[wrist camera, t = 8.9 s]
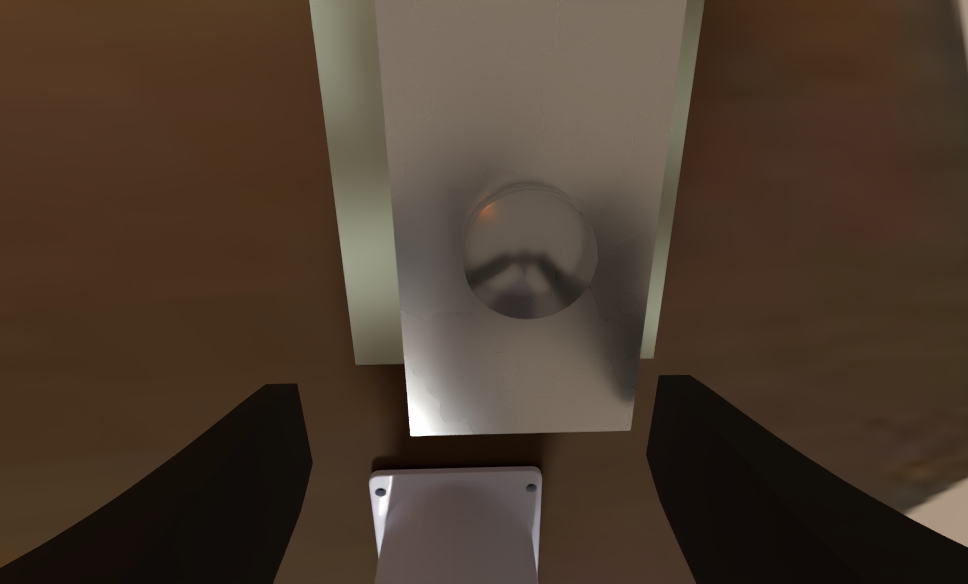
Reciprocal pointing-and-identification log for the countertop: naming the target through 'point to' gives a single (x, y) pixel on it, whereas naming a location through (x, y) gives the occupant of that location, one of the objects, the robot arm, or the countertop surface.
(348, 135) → the stand
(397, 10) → the housing
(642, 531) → the countertop surface
